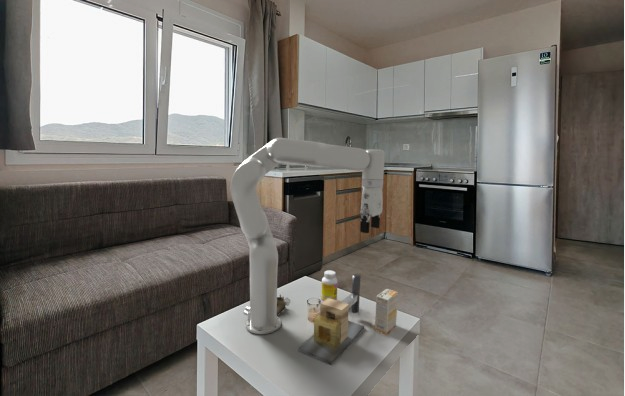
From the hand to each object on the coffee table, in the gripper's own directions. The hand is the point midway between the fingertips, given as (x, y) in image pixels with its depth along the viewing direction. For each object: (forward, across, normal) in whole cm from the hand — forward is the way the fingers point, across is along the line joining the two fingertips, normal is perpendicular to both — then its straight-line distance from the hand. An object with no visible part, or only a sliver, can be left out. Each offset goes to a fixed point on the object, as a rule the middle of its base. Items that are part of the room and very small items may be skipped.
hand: (370, 229), depth 119 cm
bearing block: (+34, -20, +3) cm, 40 cm away
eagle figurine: (+35, -16, +30) cm, 49 cm away
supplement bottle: (+34, +3, +18) cm, 39 cm away
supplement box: (+35, -3, -9) cm, 36 cm away
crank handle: (+31, -11, +3) cm, 33 cm away
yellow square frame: (+33, -25, +3) cm, 42 cm away
